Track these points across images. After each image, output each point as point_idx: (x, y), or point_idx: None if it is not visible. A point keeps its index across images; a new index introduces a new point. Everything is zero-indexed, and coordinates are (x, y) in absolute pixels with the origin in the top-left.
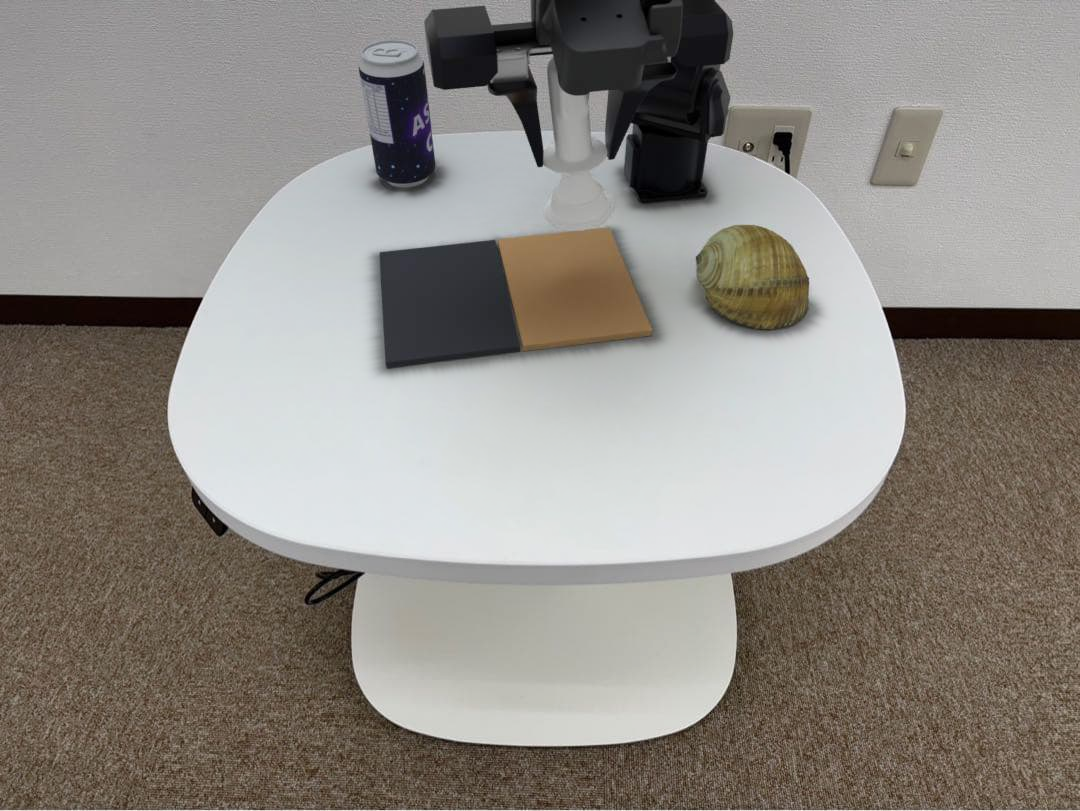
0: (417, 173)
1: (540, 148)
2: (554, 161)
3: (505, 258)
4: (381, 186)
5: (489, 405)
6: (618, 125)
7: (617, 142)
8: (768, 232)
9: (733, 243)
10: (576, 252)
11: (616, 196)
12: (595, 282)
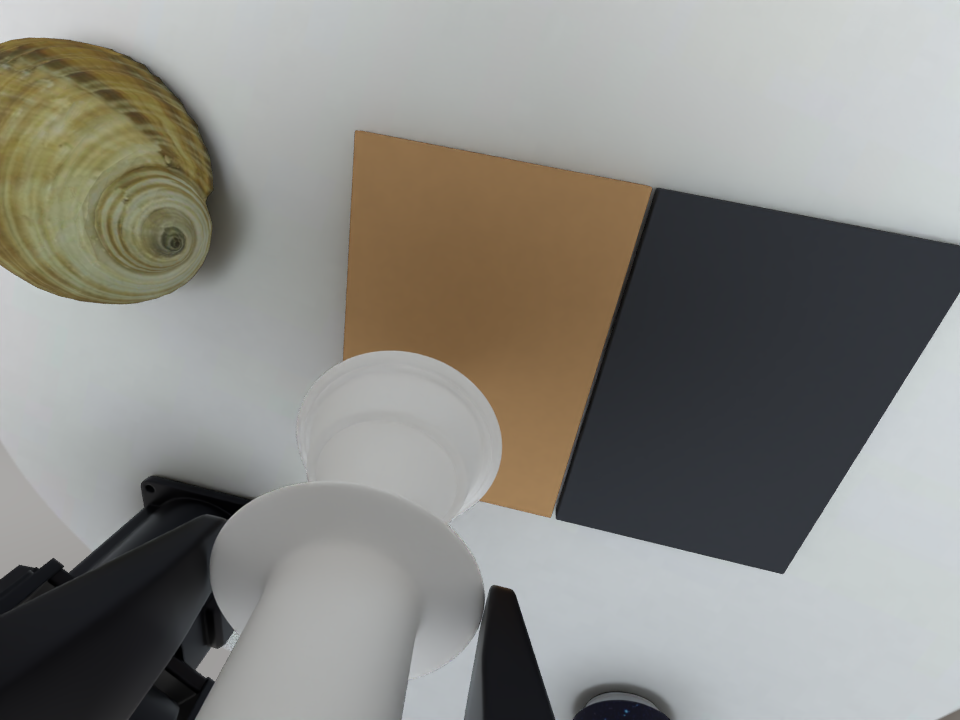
0: (621, 716)
1: (498, 667)
2: (439, 588)
3: (560, 464)
4: (675, 713)
5: (820, 18)
6: (42, 643)
7: (132, 563)
8: None
9: (50, 203)
10: None
11: None
12: (418, 329)
